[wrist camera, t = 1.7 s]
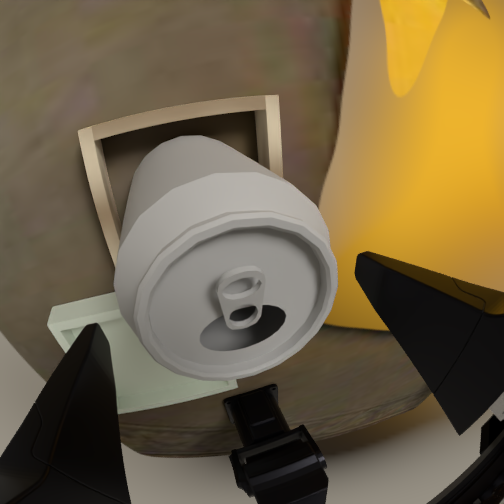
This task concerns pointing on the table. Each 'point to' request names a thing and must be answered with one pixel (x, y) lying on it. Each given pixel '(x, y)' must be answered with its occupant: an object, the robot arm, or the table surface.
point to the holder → (91, 136)
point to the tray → (128, 357)
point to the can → (220, 262)
